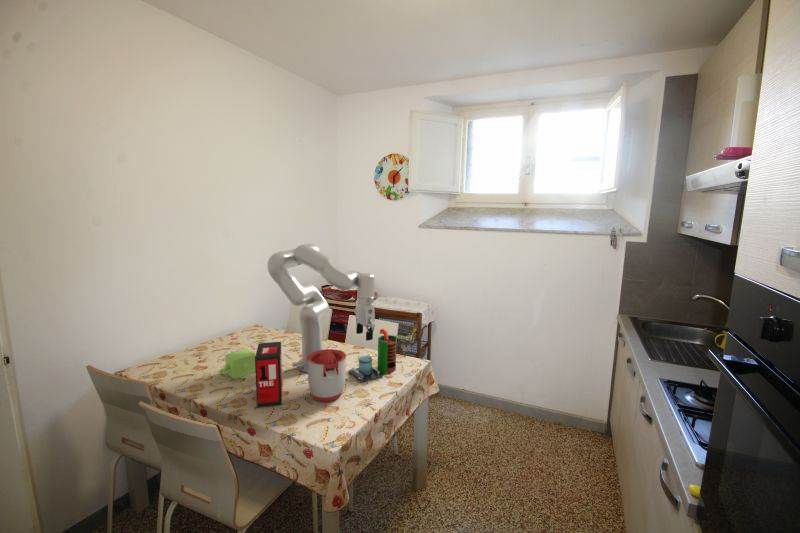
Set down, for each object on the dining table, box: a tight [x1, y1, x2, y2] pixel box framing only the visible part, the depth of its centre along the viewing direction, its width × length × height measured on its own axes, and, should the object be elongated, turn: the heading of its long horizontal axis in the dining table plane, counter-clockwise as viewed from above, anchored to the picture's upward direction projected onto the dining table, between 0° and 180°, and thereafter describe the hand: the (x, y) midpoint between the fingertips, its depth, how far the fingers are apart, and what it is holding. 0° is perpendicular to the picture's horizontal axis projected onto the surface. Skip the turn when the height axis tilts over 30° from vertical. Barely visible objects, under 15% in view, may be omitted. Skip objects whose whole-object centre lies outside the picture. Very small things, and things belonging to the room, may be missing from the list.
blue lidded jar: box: [358, 355, 373, 375], centre depth 168 cm, size 6×6×7 cm
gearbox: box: [219, 348, 256, 380], centre depth 167 cm, size 18×10×10 cm, turn 136°
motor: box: [376, 328, 398, 375], centre depth 173 cm, size 10×9×20 cm
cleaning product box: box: [254, 341, 283, 409], centre depth 146 cm, size 16×9×20 cm, turn 17°
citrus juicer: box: [307, 348, 347, 402], centre depth 147 cm, size 16×17×20 cm
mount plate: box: [348, 365, 384, 384], centre depth 168 cm, size 11×13×2 cm
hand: (364, 336), depth 166 cm, fingers open, 9 cm apart
